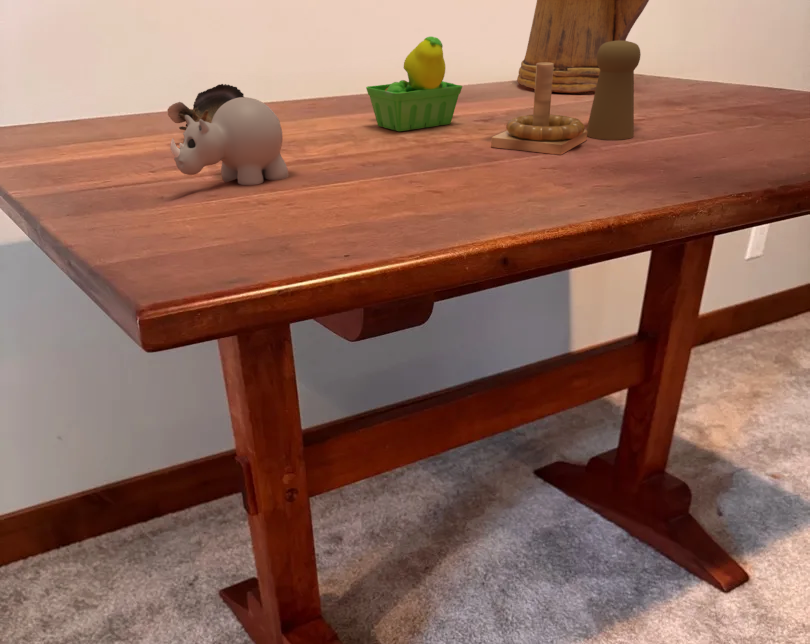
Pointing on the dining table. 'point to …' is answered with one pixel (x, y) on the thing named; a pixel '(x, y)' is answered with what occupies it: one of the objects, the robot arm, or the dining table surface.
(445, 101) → the fruit basket
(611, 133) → the cork
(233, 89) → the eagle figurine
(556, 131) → the ring
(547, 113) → the post
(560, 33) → the tankard
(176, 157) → the toy rhinoceros
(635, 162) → the dining table surface
